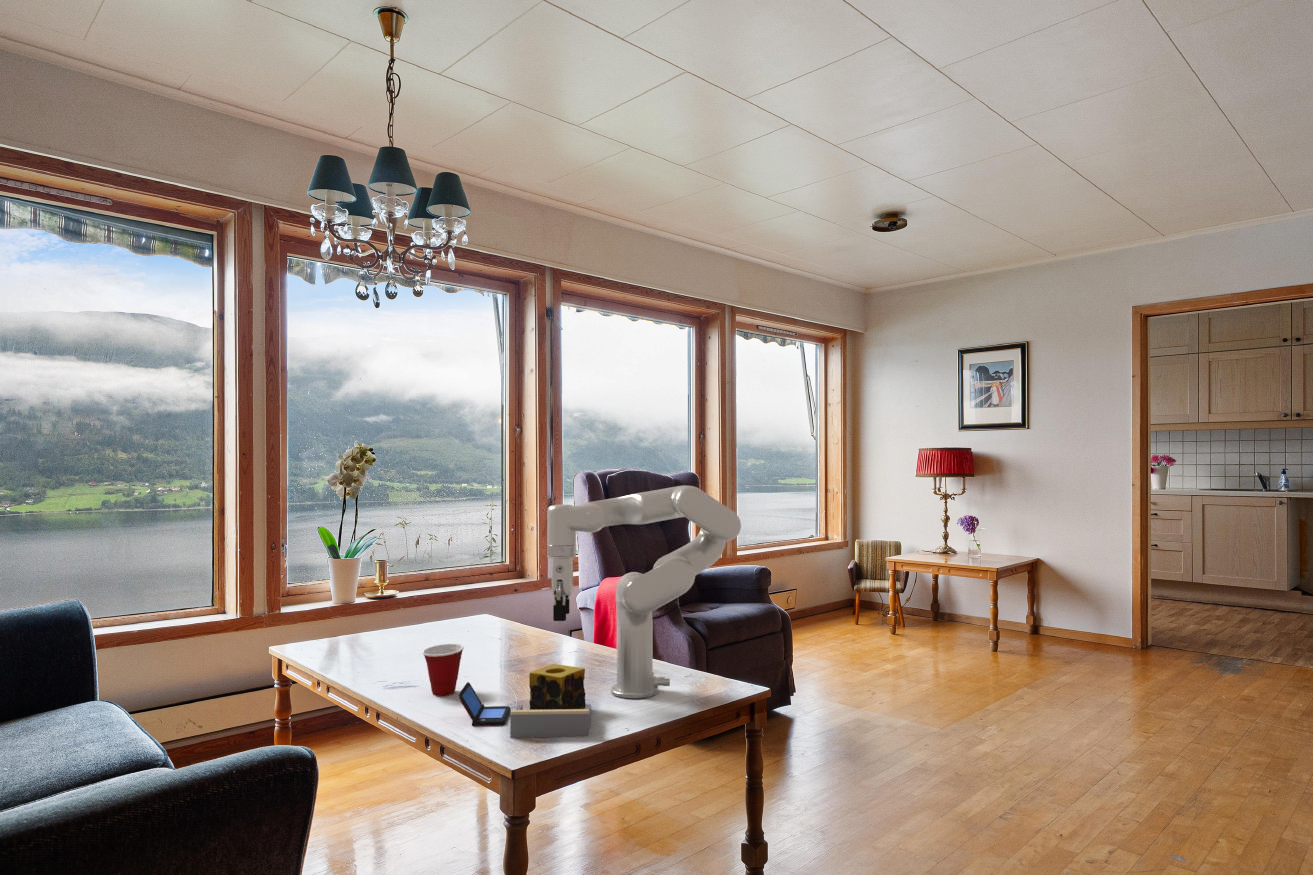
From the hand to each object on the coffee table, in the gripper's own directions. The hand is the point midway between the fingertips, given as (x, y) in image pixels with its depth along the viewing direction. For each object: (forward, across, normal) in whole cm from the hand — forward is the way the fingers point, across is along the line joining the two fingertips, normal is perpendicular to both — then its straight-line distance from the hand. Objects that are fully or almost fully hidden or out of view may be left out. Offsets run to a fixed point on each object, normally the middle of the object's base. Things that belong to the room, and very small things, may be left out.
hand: (561, 617), depth 201 cm
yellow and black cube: (+21, -12, 0) cm, 24 cm away
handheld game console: (+21, -17, +17) cm, 32 cm away
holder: (+21, -26, 0) cm, 33 cm away
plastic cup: (+21, +4, +32) cm, 38 cm away
